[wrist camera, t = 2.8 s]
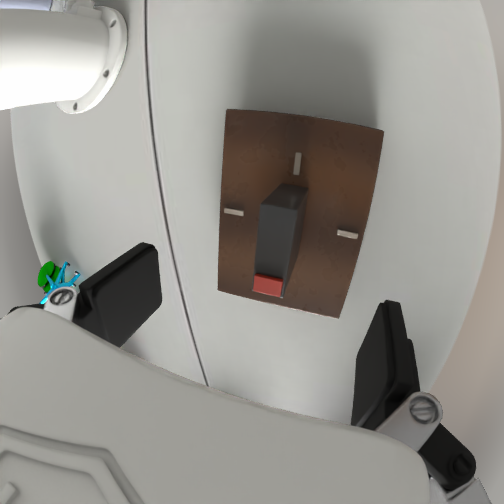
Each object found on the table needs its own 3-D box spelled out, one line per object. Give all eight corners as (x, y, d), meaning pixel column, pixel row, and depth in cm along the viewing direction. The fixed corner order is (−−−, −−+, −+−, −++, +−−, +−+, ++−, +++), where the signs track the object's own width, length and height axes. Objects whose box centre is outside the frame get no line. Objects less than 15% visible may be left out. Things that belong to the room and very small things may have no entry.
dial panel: (241, 110, 19) (224, 108, 16) (377, 130, 17) (384, 130, 14) (230, 273, 25) (216, 291, 22) (340, 298, 23) (338, 320, 20)
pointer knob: (280, 182, 17) (258, 204, 13) (308, 187, 17) (296, 211, 12) (272, 252, 20) (249, 293, 15) (297, 257, 19) (282, 301, 15)
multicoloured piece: (76, 273, 30) (47, 322, 27) (109, 296, 35) (82, 339, 33) (49, 244, 35) (25, 283, 32) (76, 266, 41) (54, 302, 38)
